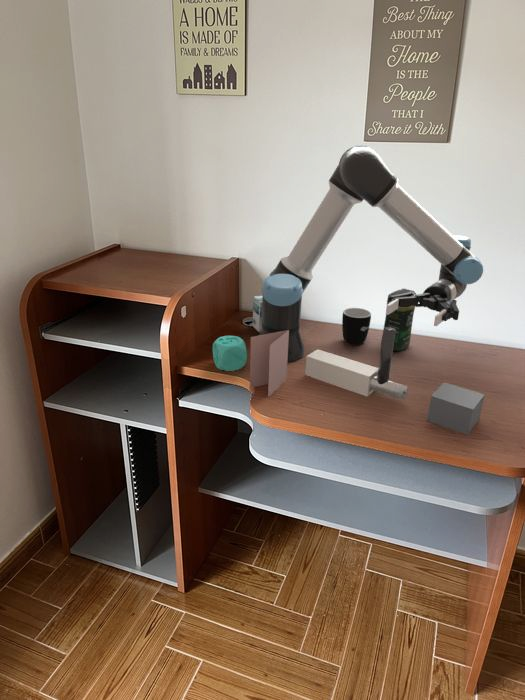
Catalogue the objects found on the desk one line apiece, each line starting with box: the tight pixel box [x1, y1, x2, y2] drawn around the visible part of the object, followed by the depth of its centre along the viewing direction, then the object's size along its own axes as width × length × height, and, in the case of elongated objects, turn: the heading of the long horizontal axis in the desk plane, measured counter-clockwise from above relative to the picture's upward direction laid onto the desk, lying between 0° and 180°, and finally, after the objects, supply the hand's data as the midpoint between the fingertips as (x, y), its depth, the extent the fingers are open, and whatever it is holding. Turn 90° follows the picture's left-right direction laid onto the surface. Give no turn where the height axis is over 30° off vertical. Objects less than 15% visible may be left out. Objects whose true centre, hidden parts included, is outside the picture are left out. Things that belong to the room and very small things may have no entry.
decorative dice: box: [212, 335, 248, 372], centre depth 156 cm, size 8×8×8 cm
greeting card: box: [249, 330, 289, 398], centre depth 143 cm, size 11×7×15 cm, turn 118°
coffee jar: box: [380, 287, 417, 352], centre depth 170 cm, size 10×8×19 cm
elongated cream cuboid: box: [304, 348, 379, 397], centre depth 149 cm, size 20×6×6 cm, turn 53°
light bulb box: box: [252, 295, 263, 333], centre depth 182 cm, size 11×7×11 cm, turn 111°
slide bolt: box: [370, 327, 409, 400], centre depth 143 cm, size 26×4×18 cm, turn 53°
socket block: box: [426, 382, 485, 436], centre depth 132 cm, size 10×9×7 cm
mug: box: [341, 307, 372, 346], centre depth 175 cm, size 12×9×10 cm
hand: (411, 315), depth 144 cm, fingers open, 13 cm apart
